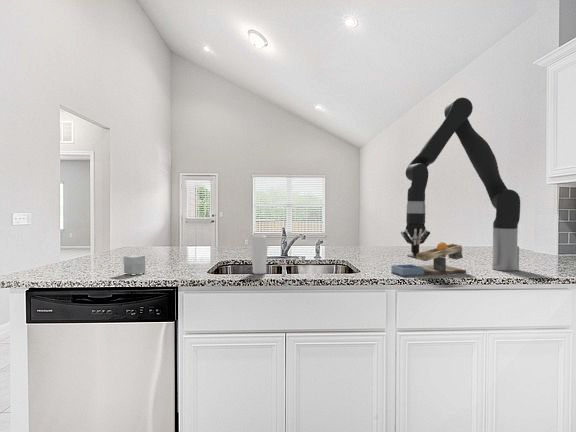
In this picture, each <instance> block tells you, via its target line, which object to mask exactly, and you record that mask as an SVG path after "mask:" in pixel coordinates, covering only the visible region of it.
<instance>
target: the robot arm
mask: <svg viewBox="0 0 576 432" xmlns="http://www.w3.org/2000/svg"><path fill="white" fill-rule="evenodd" d="M473 106H474V105H473V103H472V102H471V100H470V99H469V98H466V97H458V98H456V99H453V101H451V102H449V103H448V104H447V105H446V106H445V108H444V117H445V119H443V121H442V123H441V124H440V126H439V127H438V128H437V130H436V131H435V132H434V133H433V134H432V135H431V136H430V137H429V139H428V140H427V141H426V142H425V144H424V145H423V146H422V149H421V151H420V152H419V153H418V154H417V155H416V156H415V157H414V159H412V161H411V162H410V163H409V164H408V165H407V167H406V170H405V177H406V178H407V180H409V181H411V185H410V187H409V188H408V189H407V200H406V201H407V202H406V219H405V220H406V226H405V229H404V230H403V231H401V232H400V234H401V236H402V237H403V239H404V240H405V242H406V243H407V244H409V245H411V246H410V247H411V248H410V249H411V252H410V253H411V254H416V253H419V252H420V245H422V244H424V243H425V241H426V240H427V239H428V237H429V236H430V234H431V231H428V230H427V229H426V226H425V224H426V190H427V186H428V180H429V169H428V167H429V166H430V165H431V164H434V162H435V161H436V160H437V158H439V156H440V154H441V152H442V151H443V150H444V148H445V147H446V145H447V144H448V142H449V141H450V139H451V137H452V136H453V135H454V134H456V136H457V138H458V140H459V142H460V143H461V146H462V148H463V149H464V151H465V153H466V155H467V157H468V160H469V161H470V163H471V165H472V167H473V168H474V170H475V173H476V174H477V175H478V177H479V179H480V180H481V182H482V184H483V185H484V187H485V189H486V190H485V191H486V192H487V195H488V197H489V200H490V203H491V205H492V206H493V208H494V210H495V209H496V210H495V211H496V212H495V219H494V220H493V222H492V223H493V224H492V269H493V270H497V271H504V272H505V271H506V272H508V271H510V272H513V271H518V270H520V247H519V246H518V234H519V233H518V229H519V227H518V226H519V223H520V220H521V219H520V216H521V198H520V195H519V193H518V192H517V191H515V190H513V189H508V187H507V186H506V185H505V182H504V181H503V179H502V177H501V175H500V170H499V165H498V161H497V158H496V155H495V154H494V153H495V152H493V150H492V148H491V146H490V145H489V143H488V141H486V140H485V139H484V138H483V137H482V136H481V135H480V134H479V133H478V132H477V131H476V130H475V128H473V126H472V124H471V123H470V120H469V117H470V116H471V115H472V112H473V109H474V107H473Z"/></svg>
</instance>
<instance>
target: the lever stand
mask: <svg viewBox="0 0 576 432" xmlns="http://www.w3.org/2000/svg"><path fill="white" fill-rule="evenodd" d="M419 266H420V267H423V268H424V275H423V276H430V275H432V276H433V275H449V274H448V273H452V274H466V273H467V270H466V269H463V268H458V267H454V266H450V265H447V258H446V257H445V258H443V257H439V258H435V259H433V264H431V265H430V264H429V265H419Z"/></svg>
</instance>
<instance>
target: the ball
mask: <svg viewBox="0 0 576 432" xmlns="http://www.w3.org/2000/svg"><path fill="white" fill-rule="evenodd" d="M447 245H448V244H447V243H445V242H443V241H440V242H439V243H438V244H437V246H436V248H437V249H438V251H441V250H445V249H447Z"/></svg>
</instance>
